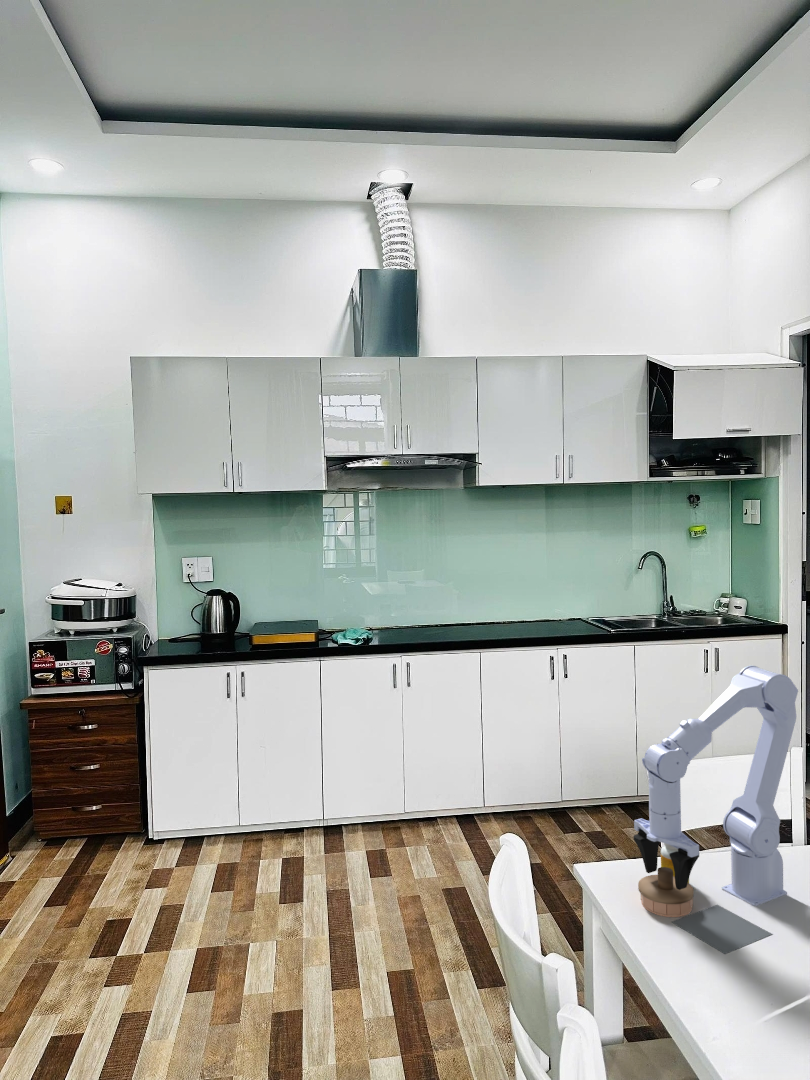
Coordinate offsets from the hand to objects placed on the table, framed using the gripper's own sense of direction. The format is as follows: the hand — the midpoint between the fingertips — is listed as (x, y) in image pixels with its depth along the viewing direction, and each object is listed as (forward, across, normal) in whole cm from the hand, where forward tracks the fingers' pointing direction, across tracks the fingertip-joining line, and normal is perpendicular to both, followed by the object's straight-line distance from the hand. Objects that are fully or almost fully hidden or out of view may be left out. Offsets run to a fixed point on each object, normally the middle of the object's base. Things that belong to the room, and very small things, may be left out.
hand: (666, 879), depth 151 cm
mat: (+5, +11, +2) cm, 12 cm away
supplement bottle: (+5, -5, +8) cm, 11 cm away
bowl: (+5, 0, 0) cm, 5 cm away
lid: (+2, 0, 0) cm, 2 cm away
